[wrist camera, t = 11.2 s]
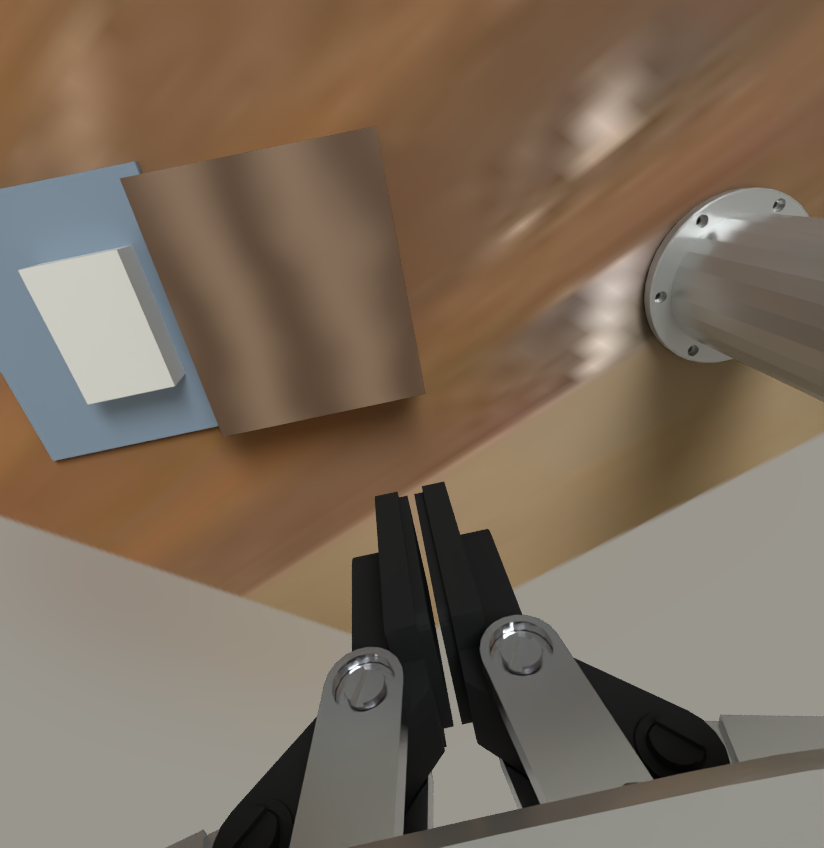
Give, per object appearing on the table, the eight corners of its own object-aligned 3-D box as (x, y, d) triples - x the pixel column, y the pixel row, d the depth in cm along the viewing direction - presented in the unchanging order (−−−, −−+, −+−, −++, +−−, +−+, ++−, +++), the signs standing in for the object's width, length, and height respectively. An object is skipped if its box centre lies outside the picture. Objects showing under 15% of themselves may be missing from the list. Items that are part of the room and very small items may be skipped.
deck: (372, 133, 32) (375, 126, 27) (417, 369, 39) (425, 393, 35) (152, 177, 32) (119, 178, 27) (237, 406, 39) (222, 436, 34)
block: (17, 270, 31) (40, 263, 33) (87, 404, 35) (103, 390, 37) (116, 249, 31) (132, 244, 33) (174, 386, 35) (185, 373, 37)
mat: (137, 161, 31) (134, 161, 31) (235, 419, 39) (234, 422, 39) (-89, 208, 31) (-95, 208, 31) (56, 457, 39) (53, 461, 39)
